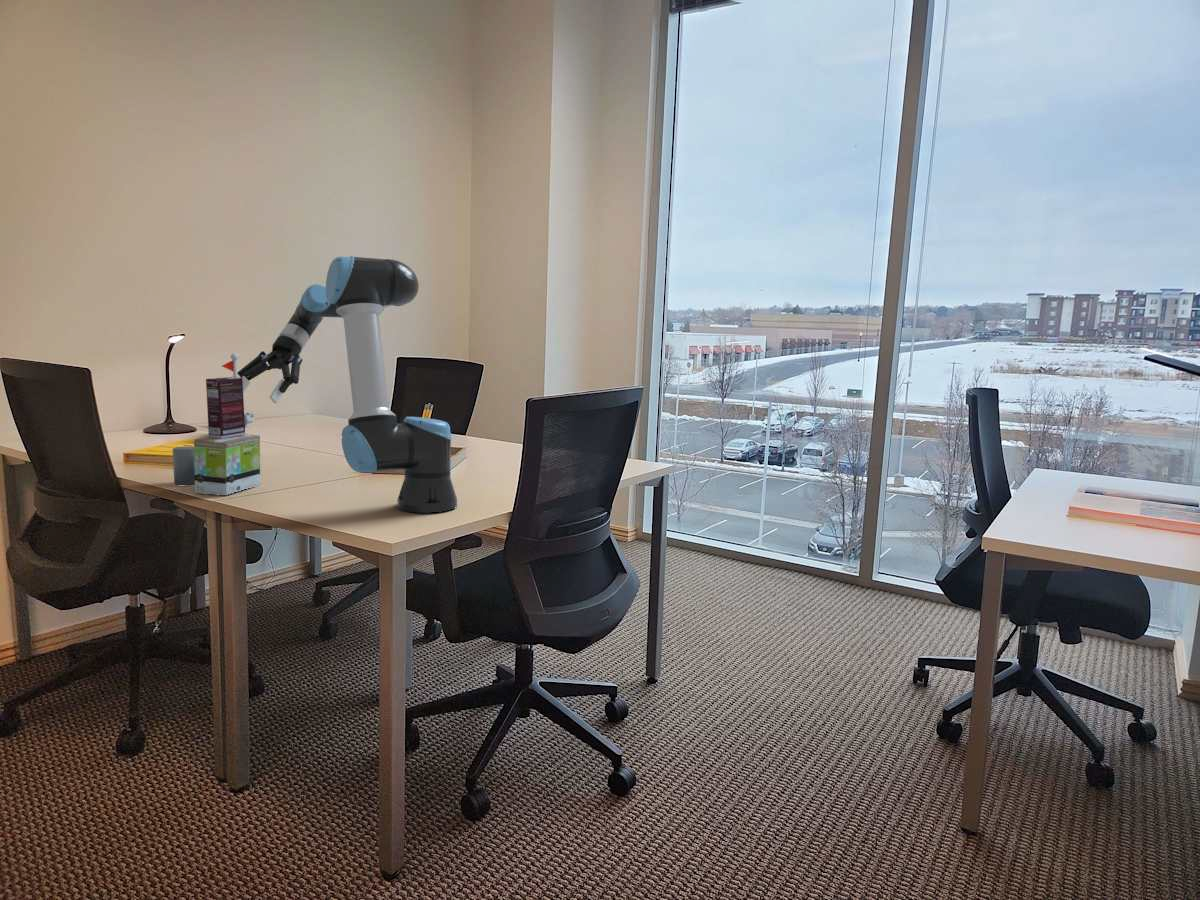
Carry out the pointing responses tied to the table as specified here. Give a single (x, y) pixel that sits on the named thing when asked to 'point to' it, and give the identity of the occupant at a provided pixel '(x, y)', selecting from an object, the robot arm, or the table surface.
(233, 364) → the flag stand
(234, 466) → the tea box
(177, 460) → the upright grey block
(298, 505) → the table surface
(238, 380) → the supplement box
